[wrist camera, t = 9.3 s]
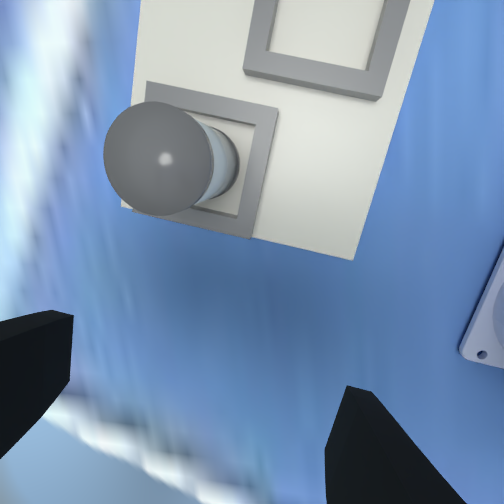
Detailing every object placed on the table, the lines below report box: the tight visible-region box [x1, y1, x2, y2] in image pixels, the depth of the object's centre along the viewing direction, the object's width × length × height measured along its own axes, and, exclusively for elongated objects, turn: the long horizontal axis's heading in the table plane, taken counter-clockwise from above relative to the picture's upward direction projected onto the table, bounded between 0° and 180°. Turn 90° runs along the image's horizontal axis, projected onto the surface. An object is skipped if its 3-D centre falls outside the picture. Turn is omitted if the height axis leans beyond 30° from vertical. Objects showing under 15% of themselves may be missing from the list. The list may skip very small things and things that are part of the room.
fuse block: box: [121, 0, 434, 261], centre depth 14 cm, size 12×13×2 cm
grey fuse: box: [103, 101, 240, 216], centre depth 13 cm, size 3×3×6 cm
